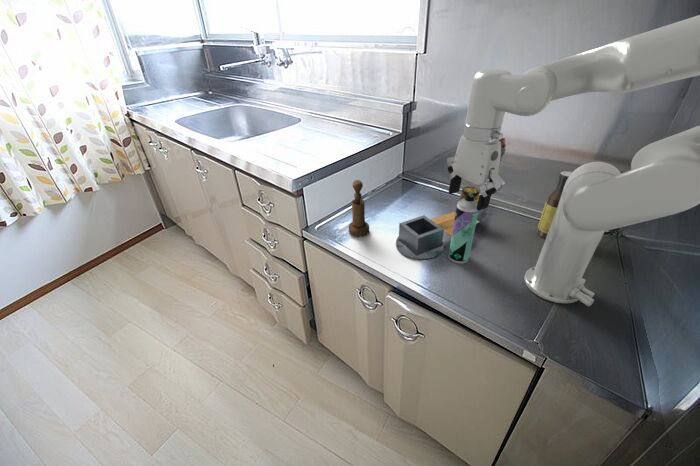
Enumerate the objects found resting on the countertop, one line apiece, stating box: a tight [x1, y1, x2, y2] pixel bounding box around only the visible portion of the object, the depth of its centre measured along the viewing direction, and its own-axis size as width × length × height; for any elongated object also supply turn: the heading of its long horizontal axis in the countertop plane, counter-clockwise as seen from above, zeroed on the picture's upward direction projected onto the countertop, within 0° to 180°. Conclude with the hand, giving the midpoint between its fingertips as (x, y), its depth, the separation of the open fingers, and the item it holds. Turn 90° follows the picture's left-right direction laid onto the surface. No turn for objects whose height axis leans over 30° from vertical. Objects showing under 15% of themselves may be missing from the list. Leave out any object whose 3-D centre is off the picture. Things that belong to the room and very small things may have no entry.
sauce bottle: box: [536, 170, 573, 239], centre depth 92 cm, size 6×6×20 cm
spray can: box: [448, 193, 480, 264], centre depth 84 cm, size 6×6×20 cm
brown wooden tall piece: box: [348, 179, 370, 238], centre depth 98 cm, size 7×6×18 cm
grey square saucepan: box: [395, 211, 456, 261], centre depth 94 cm, size 14×20×7 cm
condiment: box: [458, 186, 481, 225], centre depth 101 cm, size 7×8×12 cm
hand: (467, 200), depth 80 cm, fingers open, 9 cm apart
